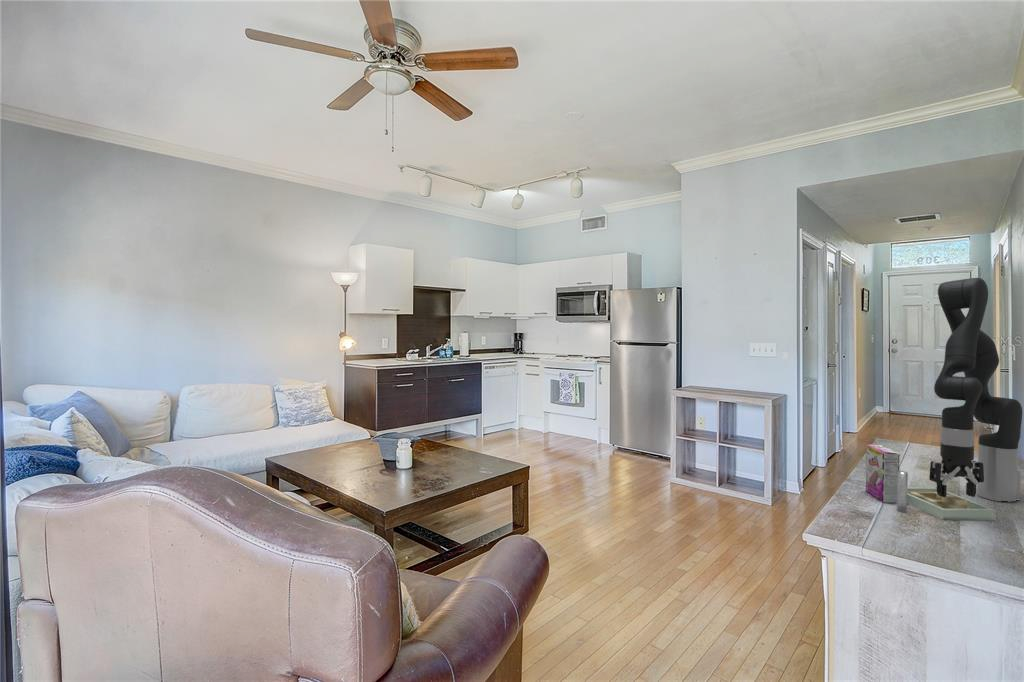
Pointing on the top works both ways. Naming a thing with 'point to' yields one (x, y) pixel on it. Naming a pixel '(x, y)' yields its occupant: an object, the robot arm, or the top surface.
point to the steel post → (902, 491)
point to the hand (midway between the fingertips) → (956, 496)
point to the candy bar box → (882, 473)
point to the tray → (971, 513)
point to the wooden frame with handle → (942, 500)
